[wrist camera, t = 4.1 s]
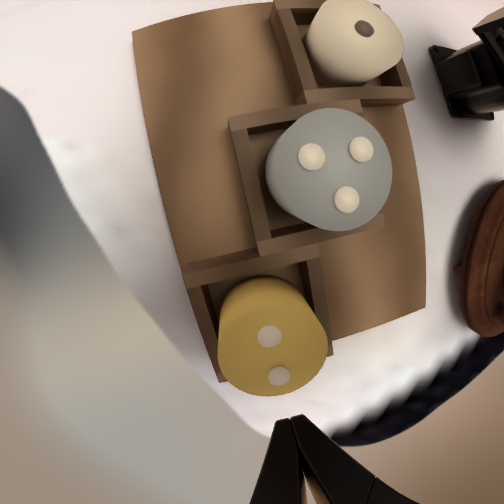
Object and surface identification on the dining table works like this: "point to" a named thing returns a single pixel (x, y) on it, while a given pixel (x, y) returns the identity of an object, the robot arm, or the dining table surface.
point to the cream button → (351, 43)
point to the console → (252, 168)
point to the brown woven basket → (484, 267)
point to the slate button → (330, 170)
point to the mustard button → (269, 337)
